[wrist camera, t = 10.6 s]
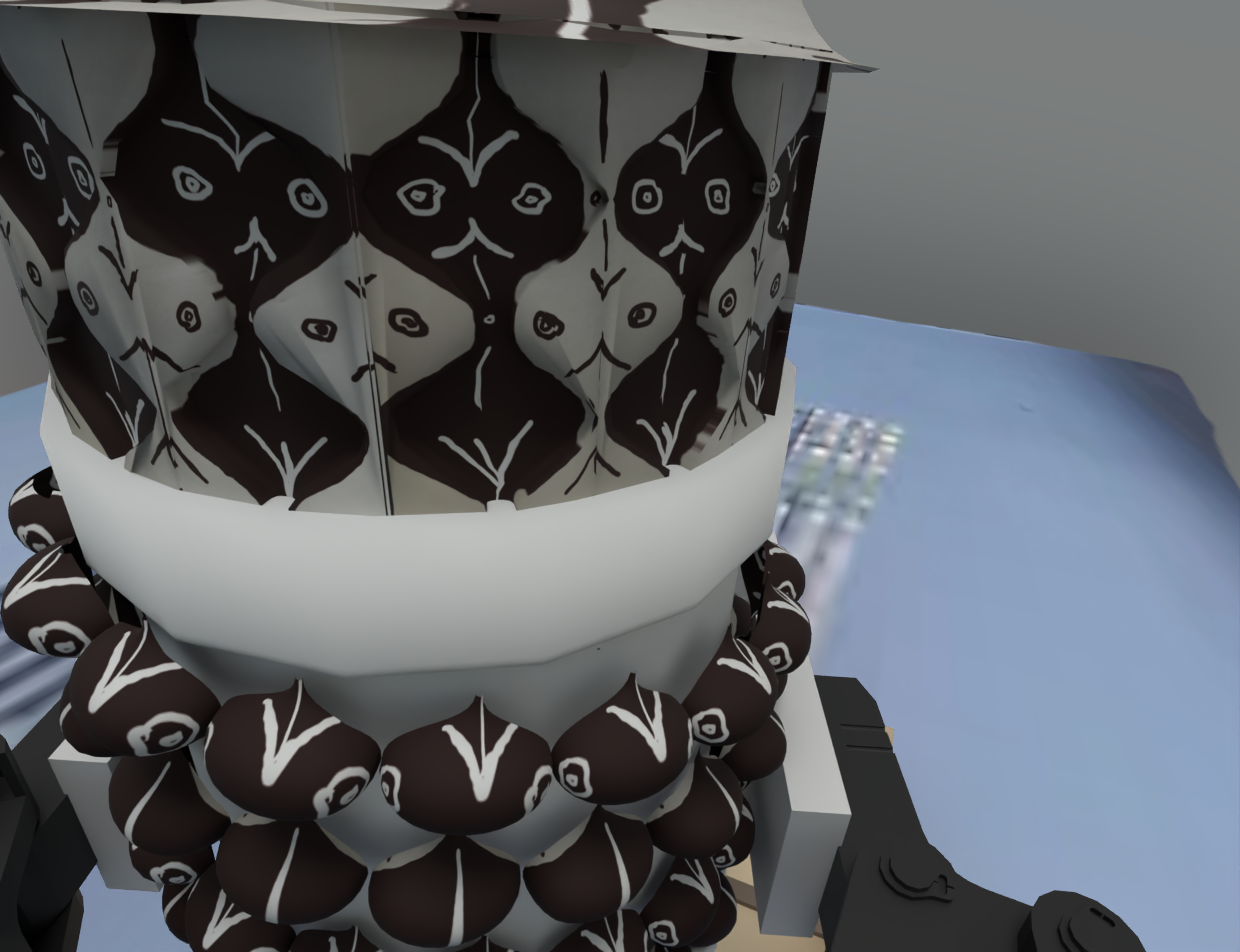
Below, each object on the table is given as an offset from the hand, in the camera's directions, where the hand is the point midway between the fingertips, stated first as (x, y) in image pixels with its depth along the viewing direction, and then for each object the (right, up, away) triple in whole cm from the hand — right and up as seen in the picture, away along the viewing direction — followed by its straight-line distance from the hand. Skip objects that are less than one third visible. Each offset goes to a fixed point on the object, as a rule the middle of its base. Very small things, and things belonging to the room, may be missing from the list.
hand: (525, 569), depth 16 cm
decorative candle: (-1, -15, +3) cm, 15 cm away
